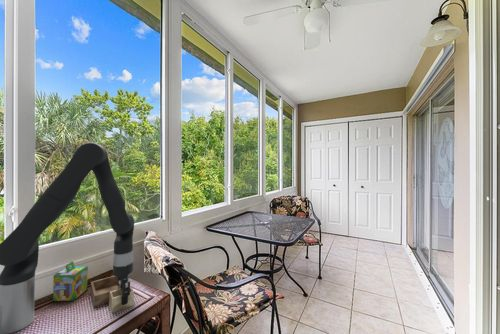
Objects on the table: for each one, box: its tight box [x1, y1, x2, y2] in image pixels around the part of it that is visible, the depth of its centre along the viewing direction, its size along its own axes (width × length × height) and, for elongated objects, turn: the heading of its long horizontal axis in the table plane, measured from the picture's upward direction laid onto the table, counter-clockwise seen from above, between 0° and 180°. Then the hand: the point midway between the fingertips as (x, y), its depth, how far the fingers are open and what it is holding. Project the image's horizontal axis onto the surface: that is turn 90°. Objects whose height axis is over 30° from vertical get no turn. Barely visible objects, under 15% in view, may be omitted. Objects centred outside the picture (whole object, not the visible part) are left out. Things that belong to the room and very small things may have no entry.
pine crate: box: [108, 285, 135, 314], centre depth 93 cm, size 8×6×6 cm
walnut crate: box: [90, 275, 118, 309], centre depth 101 cm, size 12×14×5 cm
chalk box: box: [52, 260, 89, 302], centre depth 99 cm, size 9×9×15 cm
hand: (122, 300), depth 94 cm, fingers closed on pine crate, 6 cm apart
